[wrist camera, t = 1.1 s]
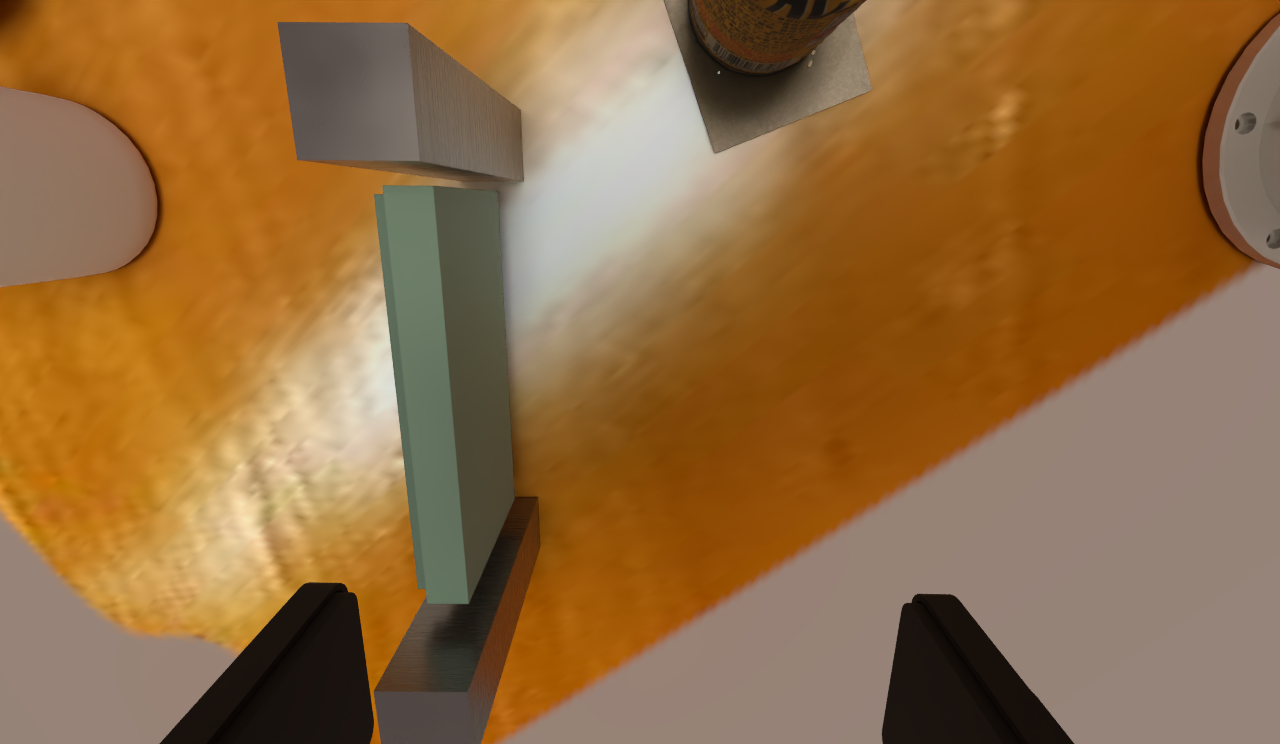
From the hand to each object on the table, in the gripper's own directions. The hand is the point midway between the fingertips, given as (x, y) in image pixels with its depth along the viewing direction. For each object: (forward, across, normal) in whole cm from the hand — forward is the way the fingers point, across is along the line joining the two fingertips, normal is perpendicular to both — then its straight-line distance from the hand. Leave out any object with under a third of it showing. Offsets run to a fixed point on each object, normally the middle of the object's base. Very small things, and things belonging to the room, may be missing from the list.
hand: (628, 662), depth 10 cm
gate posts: (+20, +7, -1) cm, 21 cm away
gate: (+18, +7, 0) cm, 19 cm away
